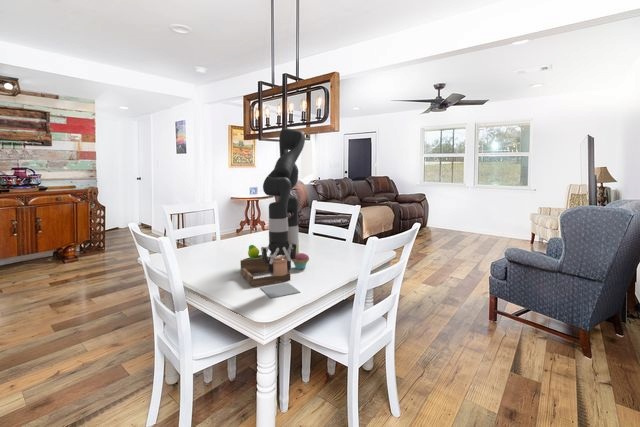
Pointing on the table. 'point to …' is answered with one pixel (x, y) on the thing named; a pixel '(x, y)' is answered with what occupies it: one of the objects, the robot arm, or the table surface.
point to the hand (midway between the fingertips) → (279, 271)
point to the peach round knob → (280, 266)
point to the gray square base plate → (280, 290)
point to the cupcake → (300, 260)
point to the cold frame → (259, 267)
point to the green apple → (253, 252)
